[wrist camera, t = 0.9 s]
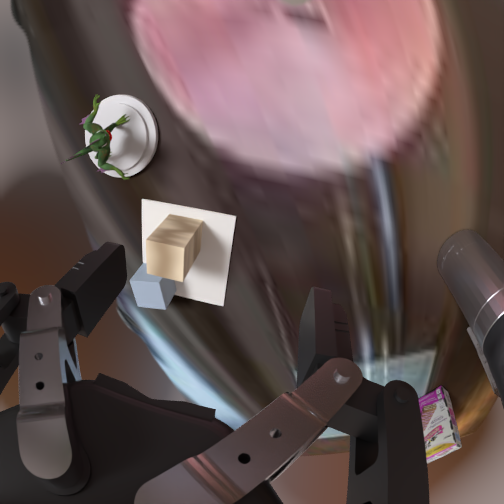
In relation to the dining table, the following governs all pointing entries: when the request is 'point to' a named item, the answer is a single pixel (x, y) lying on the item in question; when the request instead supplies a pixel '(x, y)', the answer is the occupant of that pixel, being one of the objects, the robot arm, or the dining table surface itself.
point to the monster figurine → (120, 135)
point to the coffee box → (483, 360)
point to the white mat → (211, 252)
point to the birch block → (173, 247)
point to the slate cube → (152, 289)
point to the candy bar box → (439, 424)
